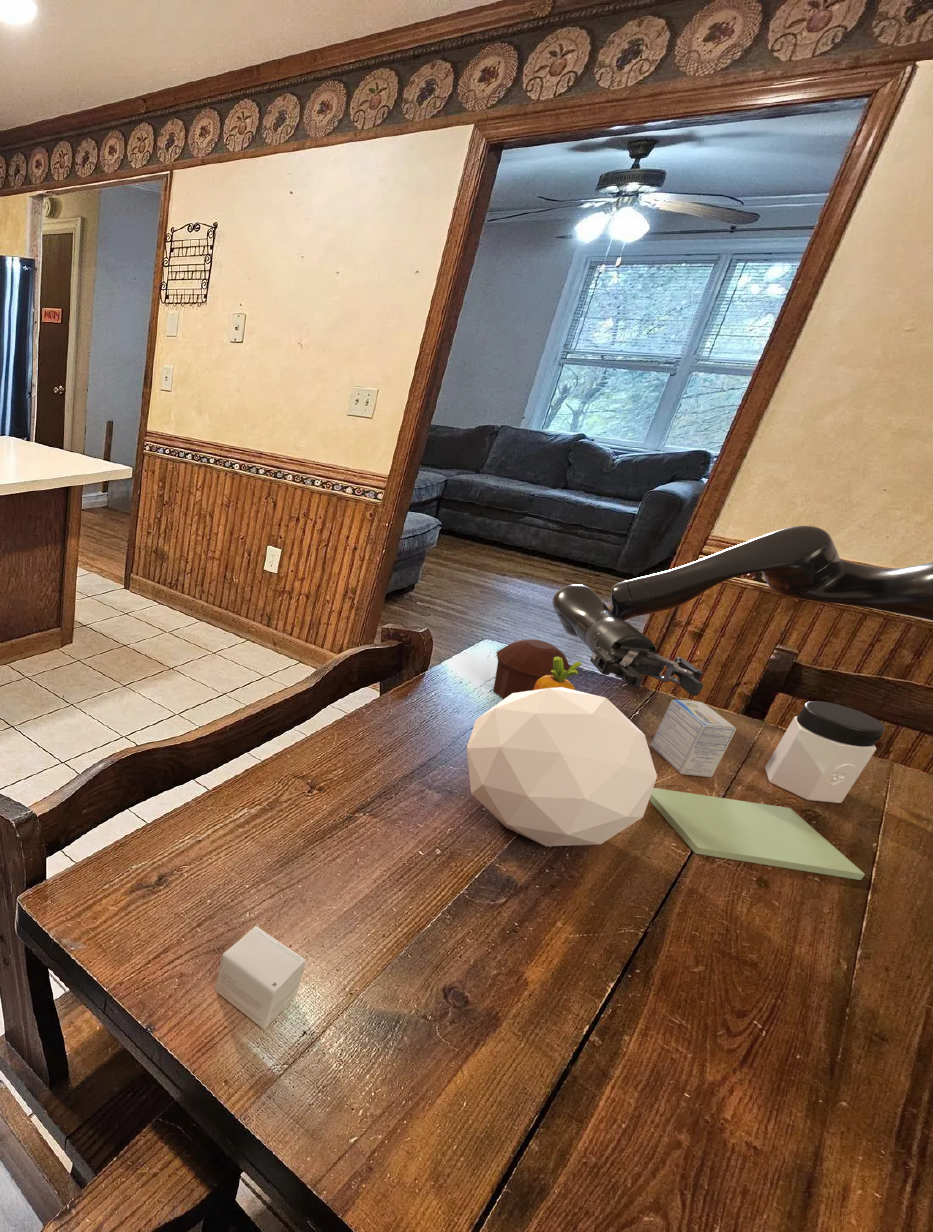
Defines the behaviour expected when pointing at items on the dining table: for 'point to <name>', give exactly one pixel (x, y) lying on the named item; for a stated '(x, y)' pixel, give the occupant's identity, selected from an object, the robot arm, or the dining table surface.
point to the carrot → (557, 676)
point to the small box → (259, 976)
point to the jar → (824, 751)
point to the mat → (750, 833)
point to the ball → (560, 766)
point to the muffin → (524, 665)
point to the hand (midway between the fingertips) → (667, 686)
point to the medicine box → (693, 738)
